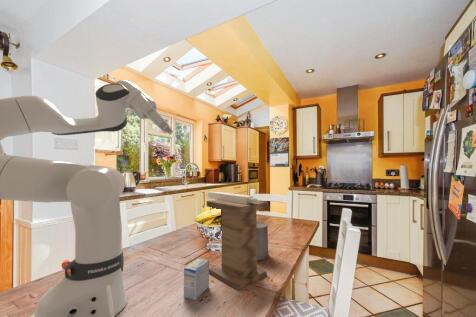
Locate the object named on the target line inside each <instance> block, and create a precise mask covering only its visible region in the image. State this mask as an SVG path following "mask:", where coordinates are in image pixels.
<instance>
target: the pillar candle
mask: <svg viewBox="0 0 476 317" xmlns="http://www.w3.org/2000/svg"><path fill="white" fill-rule="evenodd" d="M268 232H269V230H268V224H267V223H266V222H261V221H257V261H265V260H267V259H268V258H269V237H268V236H269V234H268Z"/></svg>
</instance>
